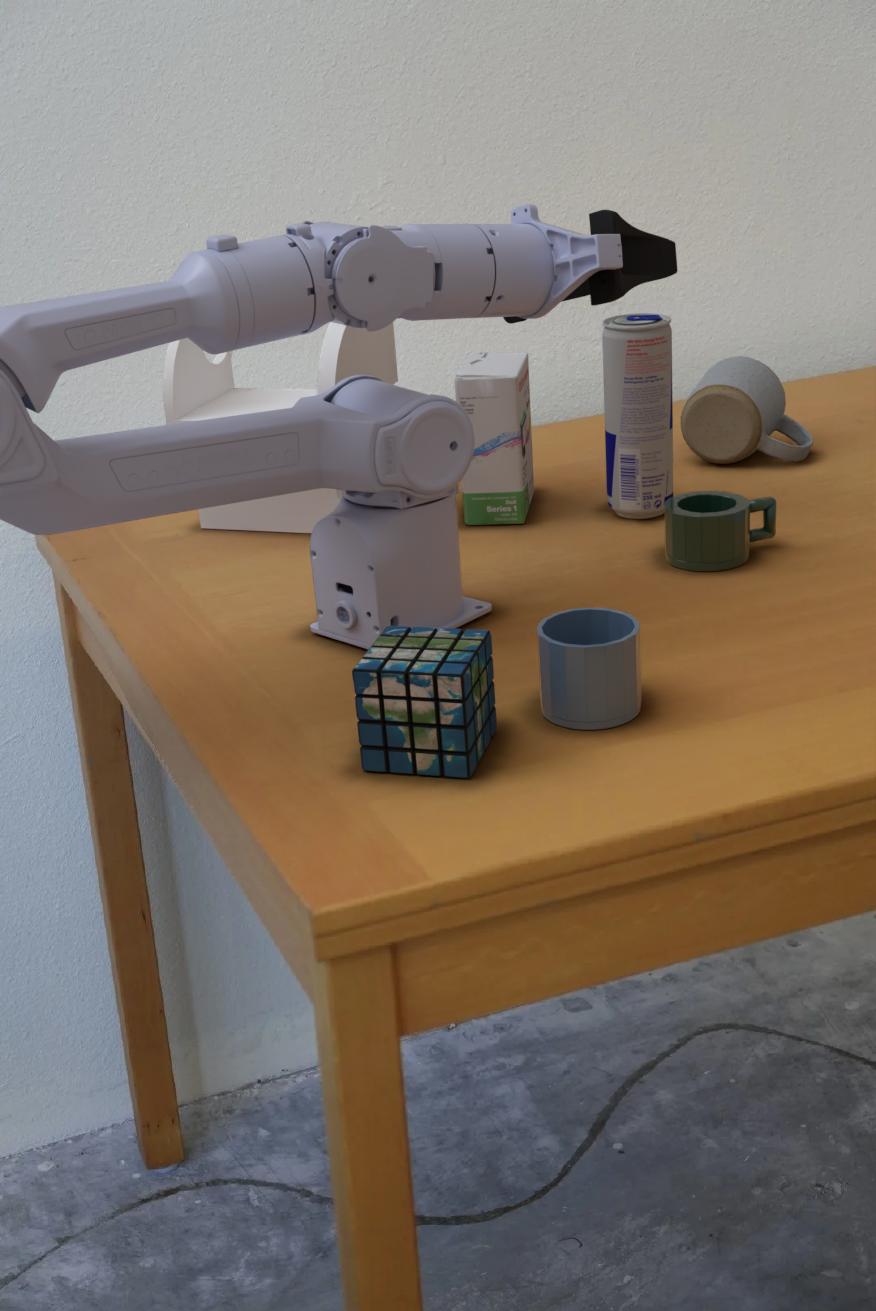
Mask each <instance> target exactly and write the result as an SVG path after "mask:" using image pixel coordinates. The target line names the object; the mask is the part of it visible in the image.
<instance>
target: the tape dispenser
mask: <svg viewBox="0 0 876 1311" xmlns="http://www.w3.org/2000/svg"><path fill="white" fill-rule="evenodd" d="M394 328H395V325H394V322H392V323H391V324H390V325H388V326H386V327H385V328H383V329H380V330H377V331H373V332H368V331H367V329H366V328H356V327H350V326H346V325H342V324H338V323H333V322H329V323H328V326H327V329H326V331H325V334H324V337H323V341H322V345H321V349H320V355H319V361H318V369H317V381H316V382H317V384H316V388H271V387H269V388H266V387H265V388H264V387H263V388H260V387H235V381H234V373H233V366H232V357H233V354H234V350H233V351H229V352H224V353H220V354H215V357H214V359H213V360H212V361H211V360H210V359H208V356H206V354H205V351H204V350H202V349H201V348H199V347H198V346H197V345H196V344H194V343H193V342H192V341H190V340H189V339H187V338H185V339H181V340H177V341H174V342H170V343H168V345H167V350H166V353H165V358H164V366H163V376H162V399H163V401H162V402H163V410H164V417H165V425H171V424H178V423H185V422H192V421H199V420H207V419H214V418H221V417H228V416H235V415H243V414H250V413H257V412H264V411H271V410H279V409H286V408H292V407H293V406H294V405H295V404H296V402H297V401H298V400H299V399H300V398H302V397H310V396H316V395H319V394H322V393H324V392H326V391H328V390H329V389H331V388H332V387H333V386H335V385H336V384H337V383H338V382H340V381H342V380H343V379H345V378H348V377H351V376H354V375H369V376H373V377H377V378H379V379H380V380H382V381H384V382H385V383H389V384H392V385H395V384H396V383H398V382H399V376H398V375H399V374H398V364H397V362H398V361H397V352H396V339H395V338H396V337H395V329H394ZM342 496H343V494H342V490H339V489H328V488H319V489H313V490H307V491H301V492H296V493H290V494H284V495H278V496H273V497H267V498H261V499H255V500H249V501H244V502H238V503H232V504H226V505H220V506H215V507H209V508H203V509H197V511H198V517H199V525H200V529H208V530H209V529H211V530H230V531H231V530H232V531H253V532H254V531H256V532H274V533H275V532H277V533H296V534H297V533H298V534H312V531H313V528H314V526H315V525H316V523H317V522H318V521H319V520H321V519H322V518H323V517H325V516H327V515H328V514H330V513H331V512H332V511H333V510H334V509H335V508H336V507H337V506H338V504H339V502H340V500H341V498H342Z"/></svg>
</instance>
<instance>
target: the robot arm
mask: <svg viewBox="0 0 876 1311" xmlns="http://www.w3.org/2000/svg"><path fill="white" fill-rule="evenodd" d="M510 212H511V213H510V223H407V224H403V225H400V226H397V225H382V226H381V225H376V224H371V225H369V226H363V225H355V224H354V225H353V224H346V223H339V222H332V221H319V222H318V221H317V222H312V221H309V220H304V221H302V222H299V223H293V224H288V225H286V227H285V228H286V229H285V232H286V233H285V234H279V235H276V236H271V237H264V238H259V239H255V240H249V241H243V242H239V243H238V238H237V236H235V235H230V234H219V235H214V236H208V237H207V238H205V245H206V249H201V250H195V251H192V252H190V253H188V254H187V255H185V256H184V257H183V259H182V260H181V262H180V263H179V264H178V266H177V267H176V269H175V271H174V272H173V274H172V275H171V277H170V278H169V279H168V280H165V281H157V282H152V283H145V284H139V285H133V286H127V287H120V288H114V289H113V288H112V289H107V290H101V291H95V292H88V293H82V294H81V293H80V294H75V295H69V296H62V297H57V298H49V299H44V300H43V299H42V300H37V301H31V302H24V303H23V302H22V303H18V304H12V305H11V304H10V305H5V306H0V521H2V522H5V523H7V524H9V525H11V526H13V527H15V528H18V529H20V530H22V531H24V532H26V533H28V534H32V535H34V536H52V535H59V534H63V533H68V532H76V531H81V530H87V529H93V528H99V527H104V526H110V525H116V524H121V523H122V524H123V523H129V522H133V521H139V520H146V519H150V518H157V517H162V516H167V515H174V514H180V513H185V512H192V511H196V510H197V511H198V509H203V508H209V507H215V506H220V505H226V504H232V503H238V502H244V501H249V500H255V499H261V498H267V497H273V496H278V495H284V494H290V493H296V492H301V491H307V490H313V489H319V488H328V489H339V490H342V494H343V496H342V498H341V500H340V502H339V504H338V506H337V507H336V508H335V509H334V510H333V511H332V512H331V513H330V514H328V515H327V516H325V517H323V518H322V519H321V520H319V521H318V522H317V523H316V525H315V526H314V528H313V531H312V533H310V539H309V555H310V556H309V557H310V565H311V573H312V574H311V575H312V581H313V582H312V583H313V591H314V600H315V609H316V616H317V621H315V622H313V623H310V626H309V628H310V632H311V633H313V634H317V635H320V636H322V637H323V636H324V637H327V638H331V639H333V640H336V641H339V642H343V643H346V644H349V645H353V646H355V647H359V648H362V649H365V650H367V651H368V650H369V648H370V647H371V646H372V645H373V643H374V642H375V641H376V639H377V638H378V637H379V636H380V634H381V633H382V632H383V631H384V629H385V628H386V627H387V626H405V627H411V629H412V628H413V627H429V628H437V631H438V629H439V628H452V629H458V628H459V627H462V626H463V625H466V624H468V623H470V622H472V621H474V620H475V619H478V618H481V617H482V616H483V615H486V614H488V613H490V612H491V611H492V610H493V608H492V607H493V606H492V603H490V602H488V601H483V600H480V599H476V598H473V597H468V596H465V595H464V594H463V592H464V591H463V580H462V578H463V577H462V566H461V565H462V564H461V550H460V536H459V524H458V522H459V521H458V506H457V494H459V493H460V482H462V478H463V477H464V475H465V474H466V472H467V470H468V468H469V466H470V464H471V461H472V458H473V453H474V446H475V436H474V429H473V425H472V422H471V420H470V417H469V416H468V414H467V412H466V411H465V410H464V408H463V407H462V406H461V405H460V404H458V403H457V402H456V400H454V399H452V398H451V397H448V396H445V395H439V394H431V393H430V394H427V393H424V392H420V391H417V390H413V389H409V388H406V387H403V386H399V385H395V384H393V385H392V384H389V383H385V382H384V381H382V380H380V379H379V378H377V377H373V376H369V375H354V376H351V377H348V378H345V379H343V380H342V381H340V382H338V383H337V384H336V385H335V386H333V387H332V388H331V389H329V390H328V391H326V392H324V393H322V394H319V395H316V396H310V397H302V398H300V399H299V400H298V401H297V402H296V404H295V405H294V406H293V407H292V408H286V409H279V410H271V411H264V412H257V413H250V414H243V415H235V416H228V417H221V418H214V419H207V420H199V421H192V422H185V423H178V424H171V425H167V424H164V425H158V426H157V425H156V426H149V427H143V428H142V427H141V428H136V429H128V430H121V431H115V432H113V431H112V432H106V433H100V434H99V433H98V434H91V435H85V436H78V437H70V438H63V439H55V440H54V439H53V438H52V437H50V436H49V435H48V434H47V433H46V432H45V431H44V430H43V429H41V428H40V427H39V426H38V425H37V424H36V423H34V421H33V419H32V417H31V415H30V413H29V411H28V410H30V411H32V412H33V413H36V414H40V413H42V411H43V410H44V408H45V407H46V405H47V403H48V401H49V399H50V397H51V396H52V393H53V391H54V389H55V387H56V385H57V383H58V381H59V379H60V377H61V376H62V374H63V373H65V372H68V371H71V370H75V369H78V368H82V367H85V366H90V365H92V364H96V363H100V362H103V361H108V360H111V359H115V358H118V357H123V356H127V355H129V354H133V353H137V352H140V351H144V350H148V349H151V348H155V347H159V346H163V345H166V344H169V343H170V342H174V341H177V340H181V339H185V338H187V339H189V340H190V341H192V342H193V343H194V344H196V345H197V346H198V347H199V348H201V349H202V350H203V351H204V353H207V354H209V355H217V354H220V353H224V352H229V351H233V352H234V351H237V350H241V349H245V348H246V349H247V348H251V347H255V346H259V345H264V344H268V343H271V342H276V341H281V340H284V339H289V338H294V337H297V336H303V335H307V334H311V333H313V332H315V331H317V330H319V329H320V328H322V327H324V326H325V325H327V324H330V322H333V323H338V324H342V325H346V326H350V327H356V328H366V329H367V331H368V332H373V331H377V330H380V329H383V328H385V327H386V326H388V325H390V324H391V323H392V322H393V323H394V322H395V321H396V320H397V319H403V320H405V321H409V322H410V321H411V322H416V321H434V320H435V321H436V320H459V319H485V318H503V320H504V322H506V323H507V324H516V323H521V322H525V321H527V320H528V319H529V320H530V319H531V320H534V319H540V318H543V317H545V316H546V315H547V314H549V313H550V312H551V311H552V310H554V309H555V308H556V307H557V306H558V305H560V303H562V302H567V301H570V300H574V299H579V298H585V297H587V296H589V298H590V306H591V307H592V306H599V305H604V304H608V303H614V302H615V301H617V300H619V299H621V298H623V297H624V296H625V295H627V294H628V292H630V291H631V290H633V289H634V288H636V287H638V286H640V285H642V284H645V283H651V282H654V281H658V280H662V279H666V278H669V277H672V276H674V275H676V274H677V273H678V261H677V259H678V257H677V247H676V242H675V241H674V240H671V239H669V238H666V237H664V236H661V235H656V234H654V233H650V232H647V231H644V230H641V229H639V228H637V227H636V226H634V225H632V224H631V223H629V222H628V221H627V220H625V219H624V218H623V217H622V216H621V215H620V214H619V213H618V212H617V211H615V210H611V209H600V210H597V211H594V212H590V213H588V218H589V231H590V235H589V234H585V233H581V232H577V231H574V230H571V229H568V228H564V227H561V226H558V225H554V224H550V223H547V222H544V221H542V220H540V216H539V211H538V207H537V206H536V205H535V204H533V203H530V204H529V203H527V204H522V205H519V206H516V207H514V208H513V209H512V210H511V211H510Z"/></svg>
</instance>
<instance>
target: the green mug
mask: <svg viewBox="0 0 876 1311" xmlns="http://www.w3.org/2000/svg"><path fill="white" fill-rule="evenodd" d="M664 508H665V512H664V551H665V552H664V553H665V556H664V558H665V561H666V562H667V563H668V564H669V565H671V566H673V567H675V568H678V569H681V570H684V571H685V570H686V571H693V572H720V571H725V570H731V569H735V568H737V567H740V566H742V565H744V564H745V563H746V562H747V561H748V560H749V558H750V545H751V544H750V543H756V542H760V541H766V540H771V539H773V538H775V537H776V534H777V500H776V498H775V497H773V496H765V497H761V498H755V499H748V498H747V497H745V496H743V495H741V494H739V493H733V492H729V491H721V490H694V491H688V492H682V493H679V494H677V495H673V497H671V498H669V499H668V500H667V501H666V502H665V503H664ZM758 512H762V527H757V528H752V529H751V514H753V513H758Z"/></svg>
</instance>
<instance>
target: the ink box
mask: <svg viewBox="0 0 876 1311" xmlns="http://www.w3.org/2000/svg"><path fill="white" fill-rule="evenodd" d="M530 389H531V388H530V366H529V353H528V352H527V351H525V352H524V351H520V352H518V351H516V352H515V351H514V352H513V351H511V352H509V351H474V352H469V353H468V354H467V356H465V358H464V360H463V361H462V363H461V364H460V366H459V367H458V369H457V370H456V372H455V378H454V393H455V394H454V395H455V401H456V402H457V403H458V404H460V405H461V406H462V407H463V408H464V410H465V411H466V412H467V414H468V416H469V417H470V420H471V422H472V425H473V429H474V436H475V446H474V453H473V458H472V461H471V464H470V466H469V468H468V470H467V472H466V474H465V475H464V477H463V478H462V480H461V494H462V507H463V521H464V524H465V525H467V526H477V525H478V526H484V525H521V524H522V525H523V524H525V522H526V519H527V516H528V512H529V509H530V506H531V504H532V499H533V496H534V493H535V480H534V479H535V478H534V457H533V456H534V455H533V435H532V412H531V411H532V410H531V391H530Z"/></svg>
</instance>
